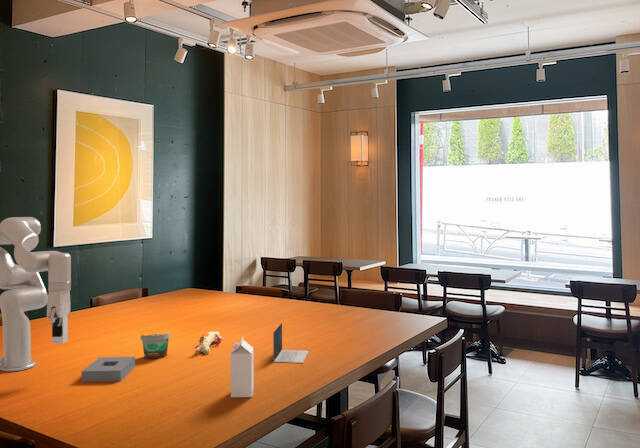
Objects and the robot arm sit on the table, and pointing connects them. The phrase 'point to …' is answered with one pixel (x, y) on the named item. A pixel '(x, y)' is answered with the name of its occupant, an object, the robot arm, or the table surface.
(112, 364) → the block
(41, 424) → the table surface
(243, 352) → the milk carton
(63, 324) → the steel pin
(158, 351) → the food container
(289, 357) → the laptop
